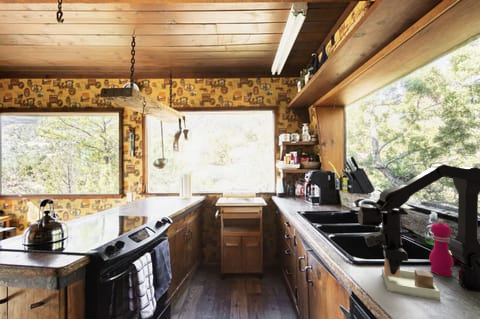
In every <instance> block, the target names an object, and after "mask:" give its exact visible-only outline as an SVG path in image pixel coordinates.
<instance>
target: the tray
mask: <svg viewBox="0 0 480 319" xmlns="http://www.w3.org/2000/svg"><path fill="white" fill-rule="evenodd" d="M381 275H382V278H383V281H384V284H385V287H386V290H387V292H391V293H396V294H401V295H402V294H403V295H407V296H412V295H413V297H419V298H424V299H431V300H437V301H441V291H440V289H439V288H438V287H437V286H436V284H435V283H434V282H433V289H428V288H422V287H416V286H415V270H406V269H400V277H399V278H398V277H393V276H388V275H386V274H385V271H384V266H382V267H381Z"/></svg>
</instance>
